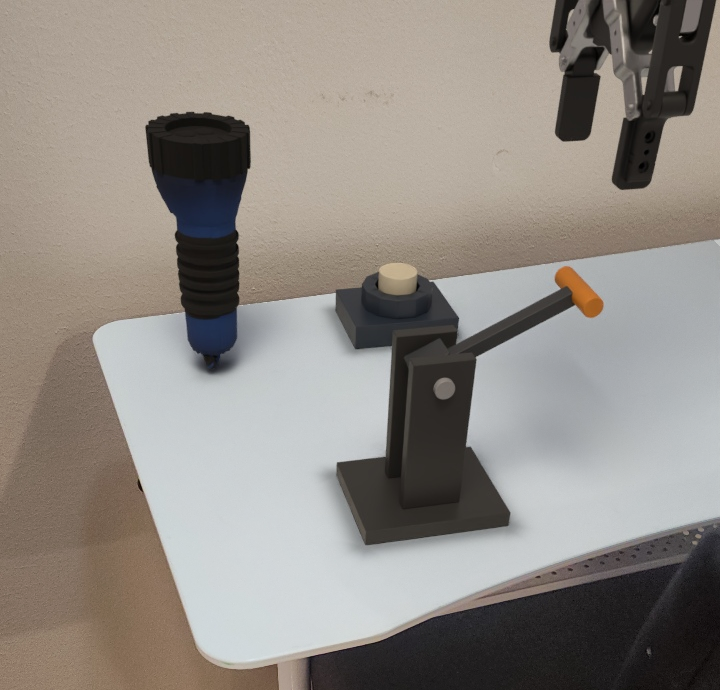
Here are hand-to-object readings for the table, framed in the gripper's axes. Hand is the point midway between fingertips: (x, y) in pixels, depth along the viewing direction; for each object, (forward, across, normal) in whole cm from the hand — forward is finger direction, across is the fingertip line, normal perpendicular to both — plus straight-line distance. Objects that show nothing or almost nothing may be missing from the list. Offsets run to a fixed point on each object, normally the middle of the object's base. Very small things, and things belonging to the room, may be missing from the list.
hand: (599, 162), depth 61 cm
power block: (+24, +28, +4) cm, 37 cm away
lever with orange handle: (+12, 0, +4) cm, 13 cm away
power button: (+20, +28, +4) cm, 35 cm away
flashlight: (+24, +24, +22) cm, 40 cm away
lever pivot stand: (+24, 0, +10) cm, 26 cm away
